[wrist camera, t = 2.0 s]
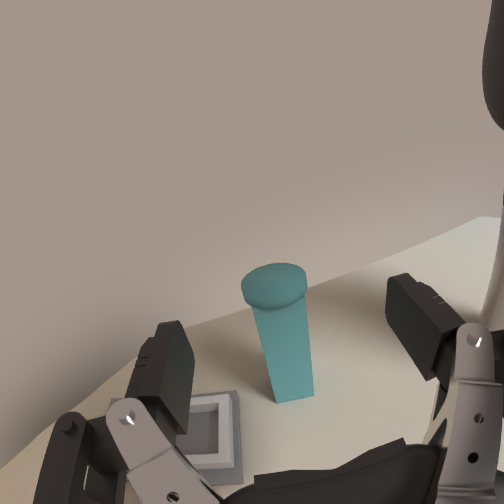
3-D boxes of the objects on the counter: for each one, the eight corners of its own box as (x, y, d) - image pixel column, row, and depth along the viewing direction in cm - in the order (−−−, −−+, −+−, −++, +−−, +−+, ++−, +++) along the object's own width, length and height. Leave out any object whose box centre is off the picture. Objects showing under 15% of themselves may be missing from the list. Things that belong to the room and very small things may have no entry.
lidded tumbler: (310, 364, 31) (298, 258, 25) (320, 398, 26) (313, 289, 20) (266, 373, 31) (240, 270, 25) (271, 408, 26) (242, 304, 20)
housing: (238, 395, 28) (228, 370, 27) (243, 483, 18) (230, 468, 17) (115, 403, 29) (97, 380, 27) (96, 475, 19) (70, 457, 17)
